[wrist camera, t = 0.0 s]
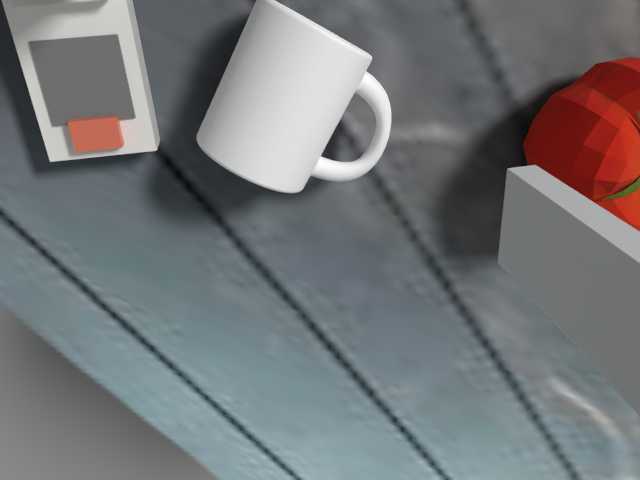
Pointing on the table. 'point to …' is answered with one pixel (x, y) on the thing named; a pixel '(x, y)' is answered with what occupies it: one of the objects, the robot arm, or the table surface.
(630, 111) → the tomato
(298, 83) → the mug
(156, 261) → the table surface
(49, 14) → the power strip
